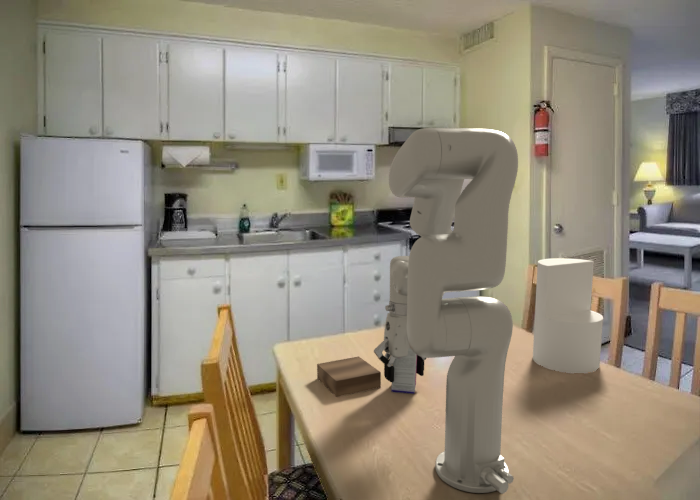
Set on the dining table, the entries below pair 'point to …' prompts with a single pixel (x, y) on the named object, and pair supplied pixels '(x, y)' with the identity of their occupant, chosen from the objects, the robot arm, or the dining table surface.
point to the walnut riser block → (348, 376)
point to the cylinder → (566, 317)
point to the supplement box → (405, 373)
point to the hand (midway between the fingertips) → (404, 376)
